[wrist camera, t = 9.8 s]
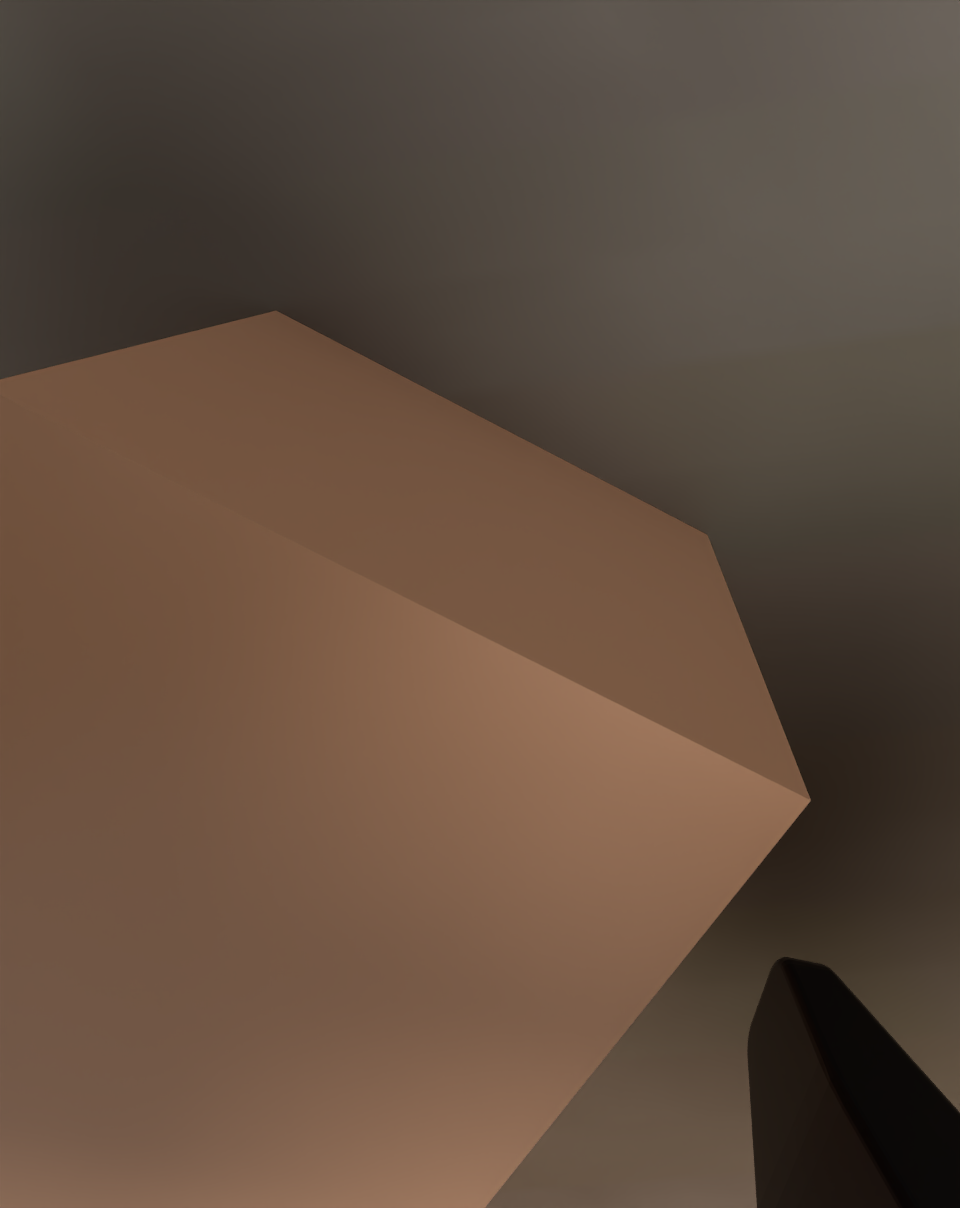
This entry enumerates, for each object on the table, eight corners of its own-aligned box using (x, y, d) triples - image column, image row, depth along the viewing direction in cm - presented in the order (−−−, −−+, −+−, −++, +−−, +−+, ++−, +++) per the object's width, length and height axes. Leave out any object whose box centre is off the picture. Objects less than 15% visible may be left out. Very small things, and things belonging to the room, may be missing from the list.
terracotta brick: (705, 531, 10) (811, 800, 5) (400, 1008, 13) (295, 1443, 8) (280, 308, 9) (-21, 384, 5) (73, 857, 12) (-231, 1224, 8)
